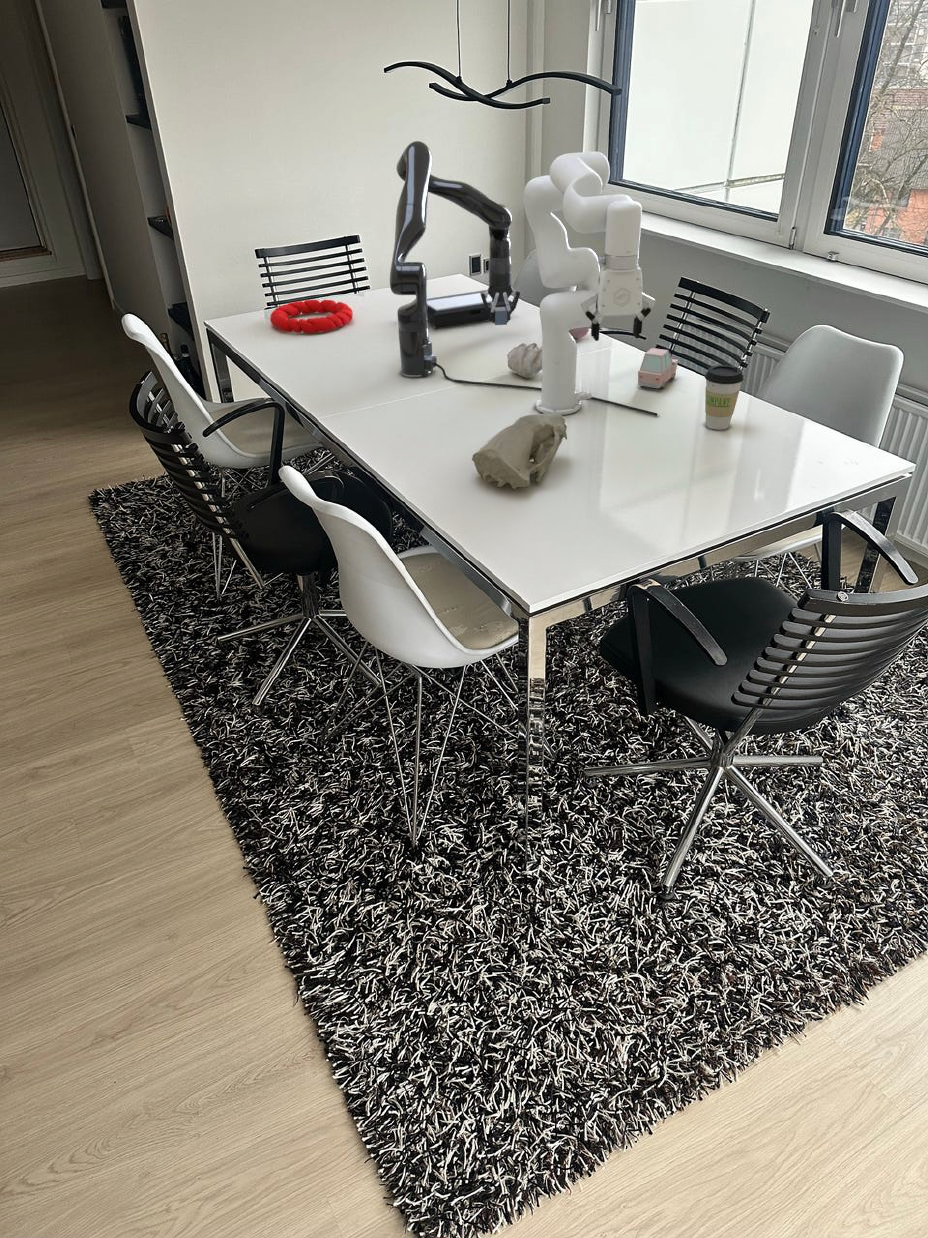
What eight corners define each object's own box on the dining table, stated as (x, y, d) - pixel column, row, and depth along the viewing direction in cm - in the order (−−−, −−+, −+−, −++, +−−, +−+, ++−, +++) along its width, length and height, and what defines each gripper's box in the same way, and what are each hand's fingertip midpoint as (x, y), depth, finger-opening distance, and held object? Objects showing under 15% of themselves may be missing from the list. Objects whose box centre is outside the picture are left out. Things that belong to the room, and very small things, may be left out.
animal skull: (489, 499, 227) (452, 459, 211) (541, 418, 229) (509, 372, 213) (540, 522, 217) (505, 481, 201) (594, 437, 219) (564, 390, 203)
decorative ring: (264, 303, 335) (273, 317, 310) (343, 294, 342) (358, 307, 317) (267, 323, 338) (277, 338, 313) (345, 314, 345) (360, 328, 320)
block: (493, 321, 309) (493, 307, 306) (505, 320, 309) (505, 306, 307) (495, 325, 305) (495, 311, 303) (507, 324, 306) (507, 310, 303)
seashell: (522, 385, 268) (523, 352, 263) (503, 370, 280) (503, 338, 274) (553, 380, 271) (554, 348, 266) (533, 365, 283) (533, 334, 277)
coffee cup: (691, 421, 242) (698, 367, 233) (722, 415, 245) (730, 362, 236) (712, 434, 234) (719, 379, 226) (743, 428, 237) (752, 373, 228)
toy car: (680, 376, 271) (684, 343, 265) (662, 392, 260) (666, 358, 255) (651, 371, 275) (654, 339, 269) (632, 387, 264) (635, 354, 259)
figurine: (575, 330, 312) (576, 295, 305) (594, 339, 304) (596, 302, 297) (554, 335, 308) (555, 299, 301) (572, 343, 300) (574, 307, 293)
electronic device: (433, 312, 313) (412, 299, 328) (434, 330, 317) (413, 316, 332) (514, 300, 323) (490, 287, 338) (514, 317, 327) (490, 304, 342)
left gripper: (480, 274, 294) (481, 326, 304) (522, 271, 295) (522, 323, 305) (477, 268, 300) (478, 320, 310) (519, 266, 301) (518, 317, 311)
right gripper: (586, 267, 196) (583, 345, 206) (663, 263, 197) (656, 340, 207) (579, 259, 202) (576, 335, 212) (654, 255, 204) (647, 330, 213)
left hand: (500, 321), depth 307 cm, fingers closed on block, 4 cm apart
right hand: (615, 337), depth 210 cm, fingers open, 9 cm apart
